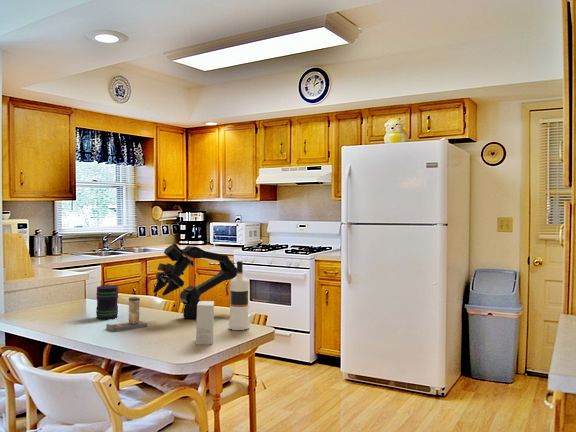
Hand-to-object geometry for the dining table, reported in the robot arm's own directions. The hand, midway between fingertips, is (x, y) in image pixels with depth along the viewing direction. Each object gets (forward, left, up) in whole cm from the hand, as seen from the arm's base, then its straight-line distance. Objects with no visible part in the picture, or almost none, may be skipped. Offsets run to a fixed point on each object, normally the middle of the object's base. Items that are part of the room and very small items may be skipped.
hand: (158, 293), depth 227 cm
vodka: (-39, +8, -14) cm, 42 cm away
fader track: (+11, +11, -13) cm, 20 cm away
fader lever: (+8, +9, -12) cm, 17 cm away
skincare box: (-29, +32, -14) cm, 45 cm away
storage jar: (+27, -8, -14) cm, 31 cm away
